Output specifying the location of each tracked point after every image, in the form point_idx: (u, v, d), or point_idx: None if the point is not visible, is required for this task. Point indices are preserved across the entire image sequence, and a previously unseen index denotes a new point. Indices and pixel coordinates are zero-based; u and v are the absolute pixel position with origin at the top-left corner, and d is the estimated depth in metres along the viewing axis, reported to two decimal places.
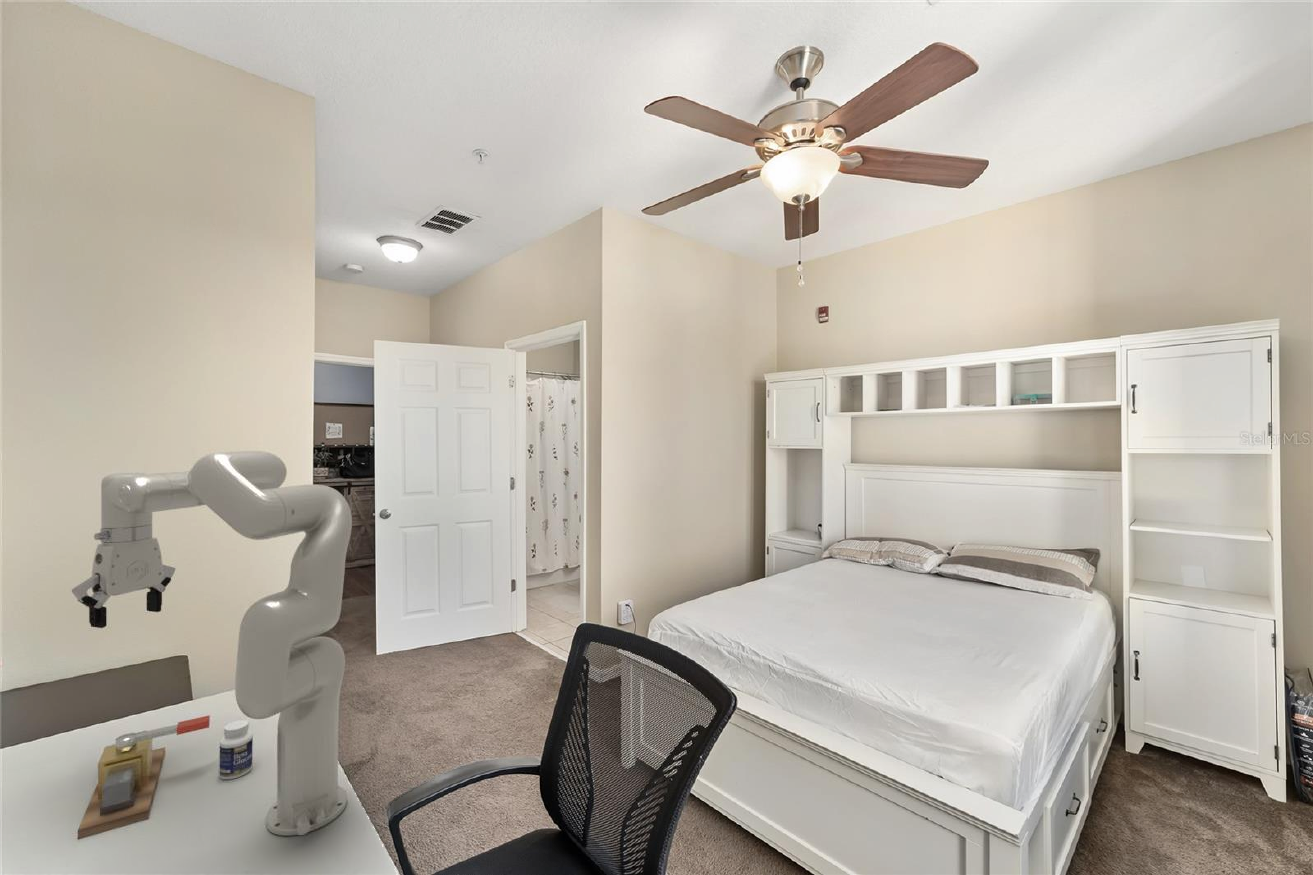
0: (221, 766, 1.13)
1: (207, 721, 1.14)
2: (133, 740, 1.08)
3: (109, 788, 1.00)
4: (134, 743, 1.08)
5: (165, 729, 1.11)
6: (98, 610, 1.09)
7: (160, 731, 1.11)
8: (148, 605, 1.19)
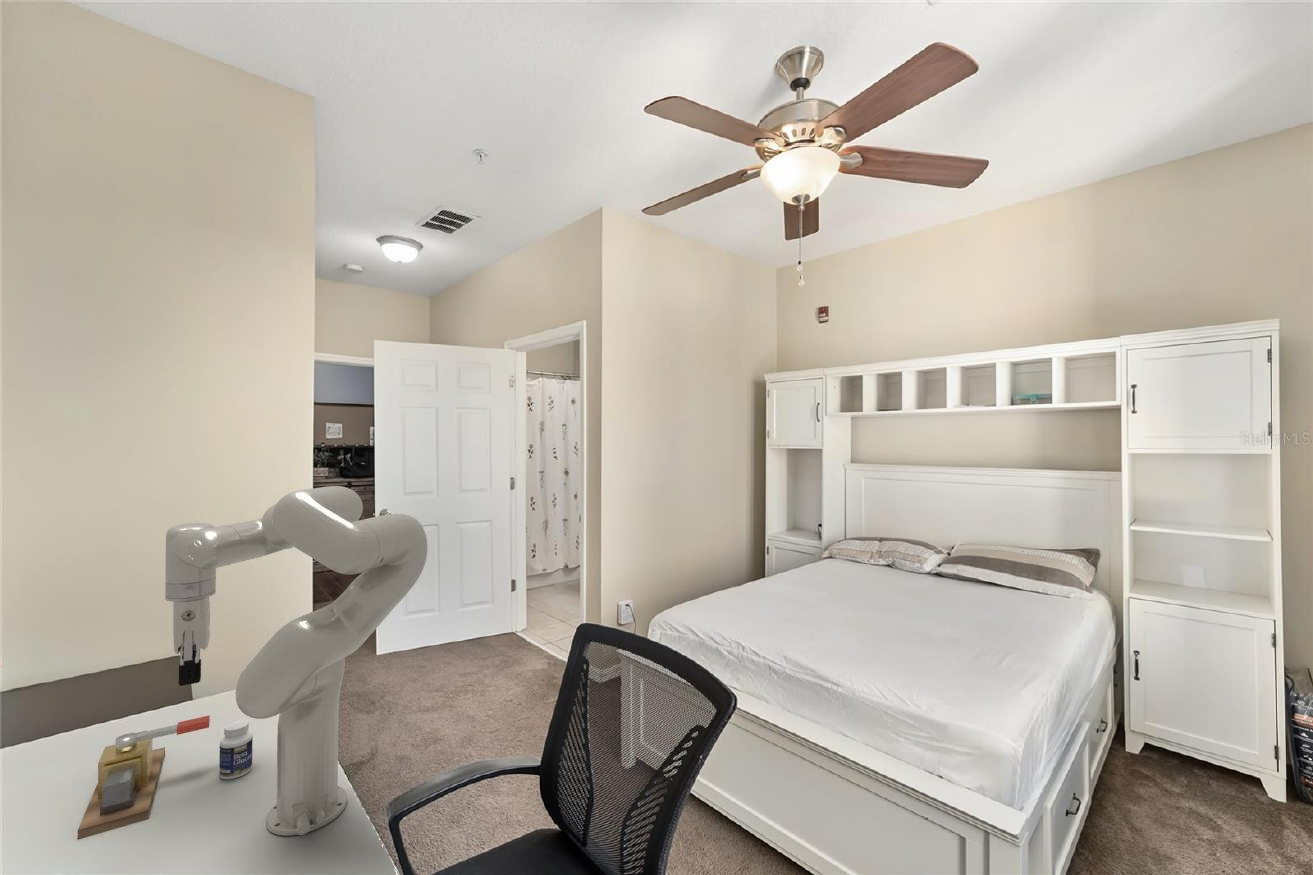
0: (221, 766, 1.13)
1: (207, 721, 1.14)
2: (133, 740, 1.08)
3: (109, 788, 1.00)
4: (134, 743, 1.08)
5: (165, 729, 1.11)
6: (195, 665, 1.09)
7: (160, 731, 1.11)
8: None
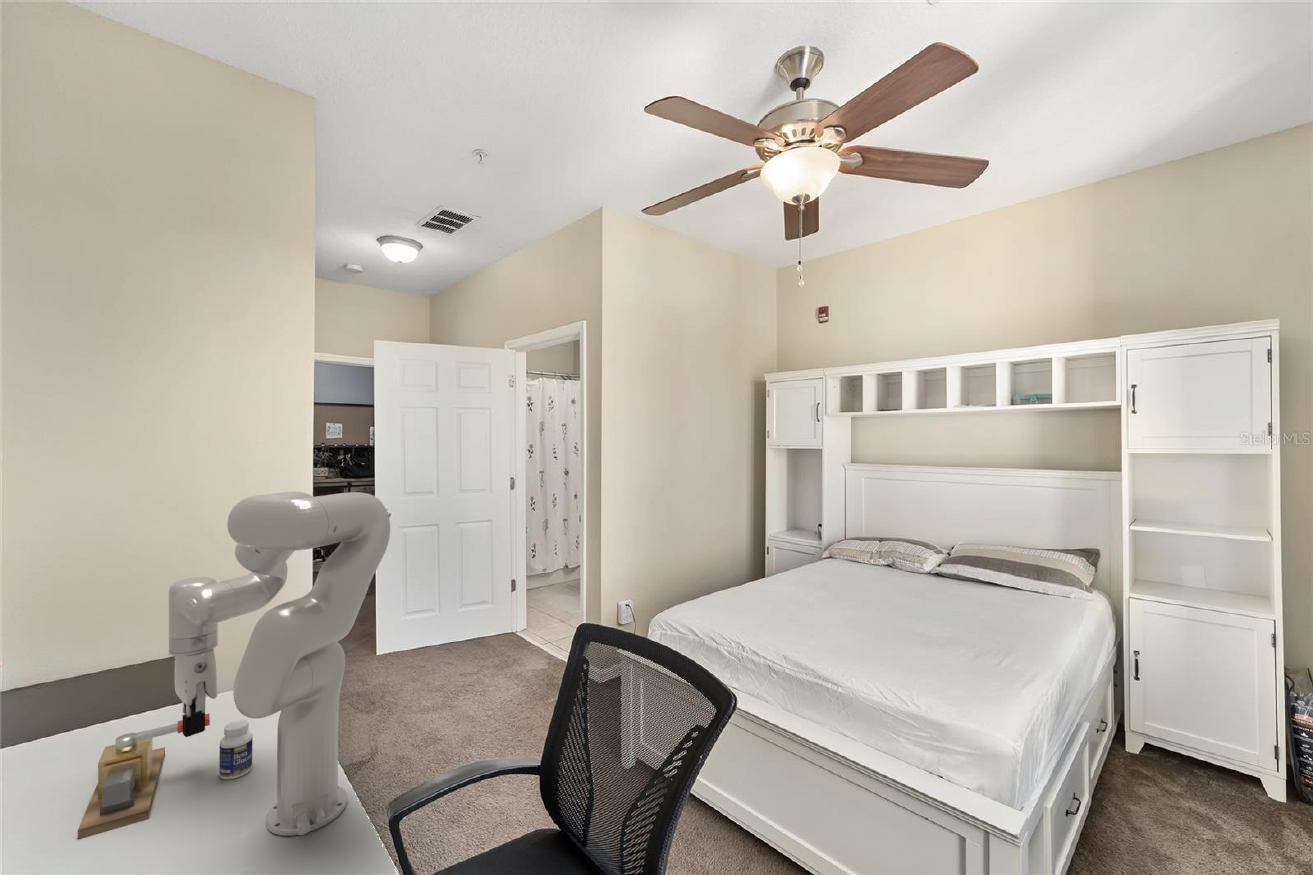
0: (221, 766, 1.13)
1: (208, 719, 1.15)
2: (134, 740, 1.08)
3: (109, 788, 1.00)
4: (135, 743, 1.08)
5: (165, 728, 1.12)
6: (200, 715, 1.12)
7: (160, 730, 1.11)
8: None
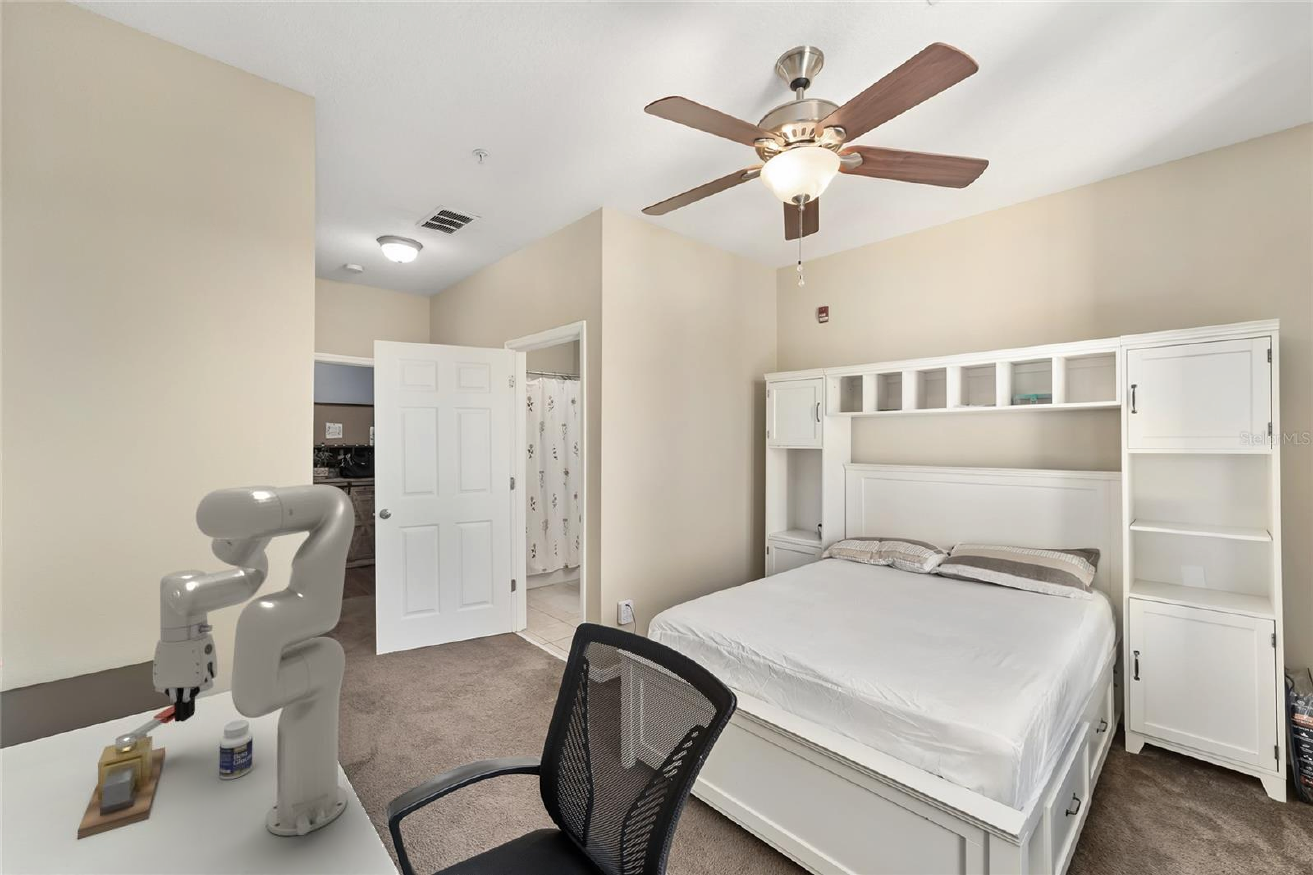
0: (221, 766, 1.13)
1: None
2: (136, 736, 1.09)
3: (109, 788, 1.00)
4: None
5: (154, 722, 1.14)
6: None
7: (152, 724, 1.13)
8: None
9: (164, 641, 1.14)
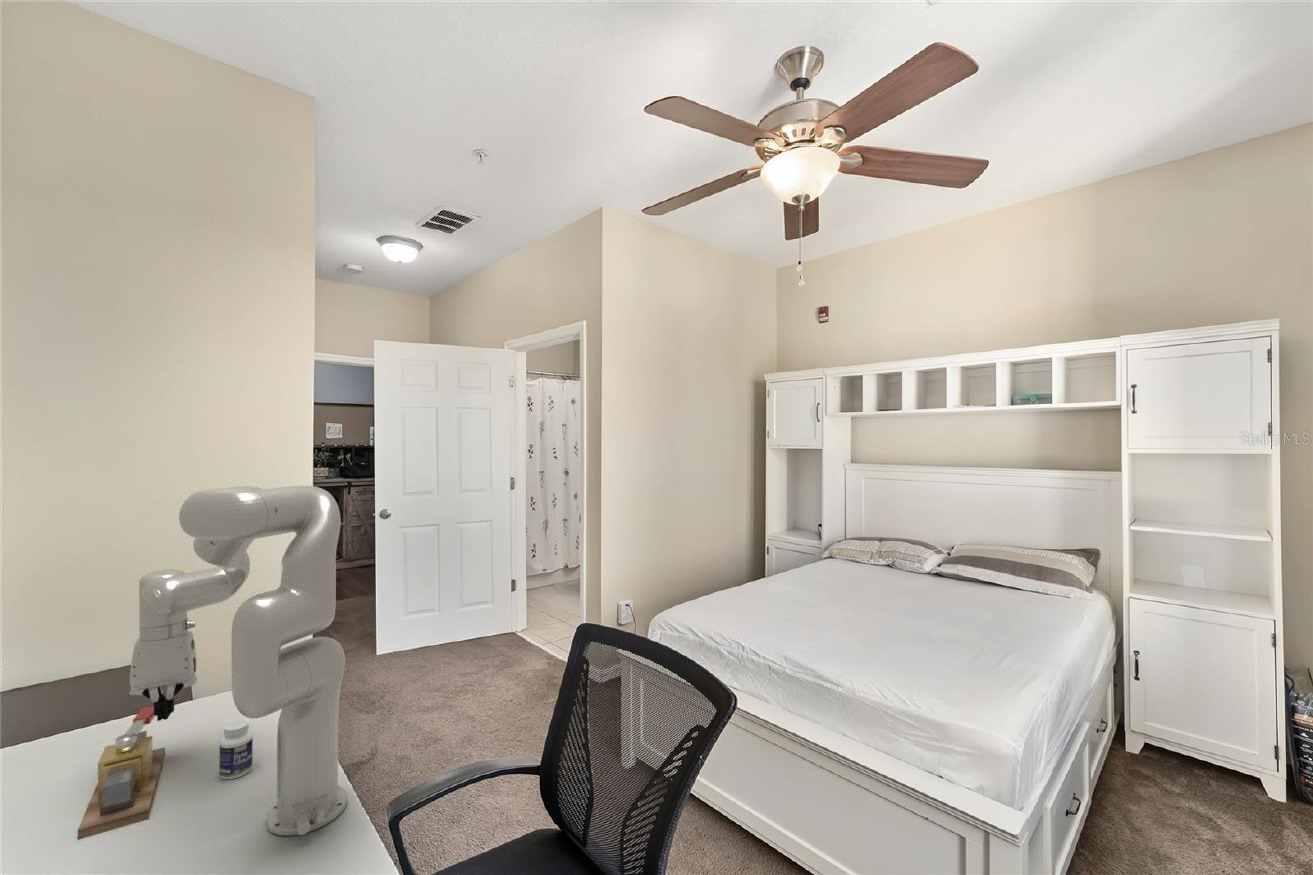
0: (221, 766, 1.13)
1: None
2: None
3: (109, 788, 1.00)
4: None
5: (139, 723, 1.14)
6: None
7: (140, 724, 1.13)
8: (162, 713, 1.18)
9: (150, 640, 1.15)
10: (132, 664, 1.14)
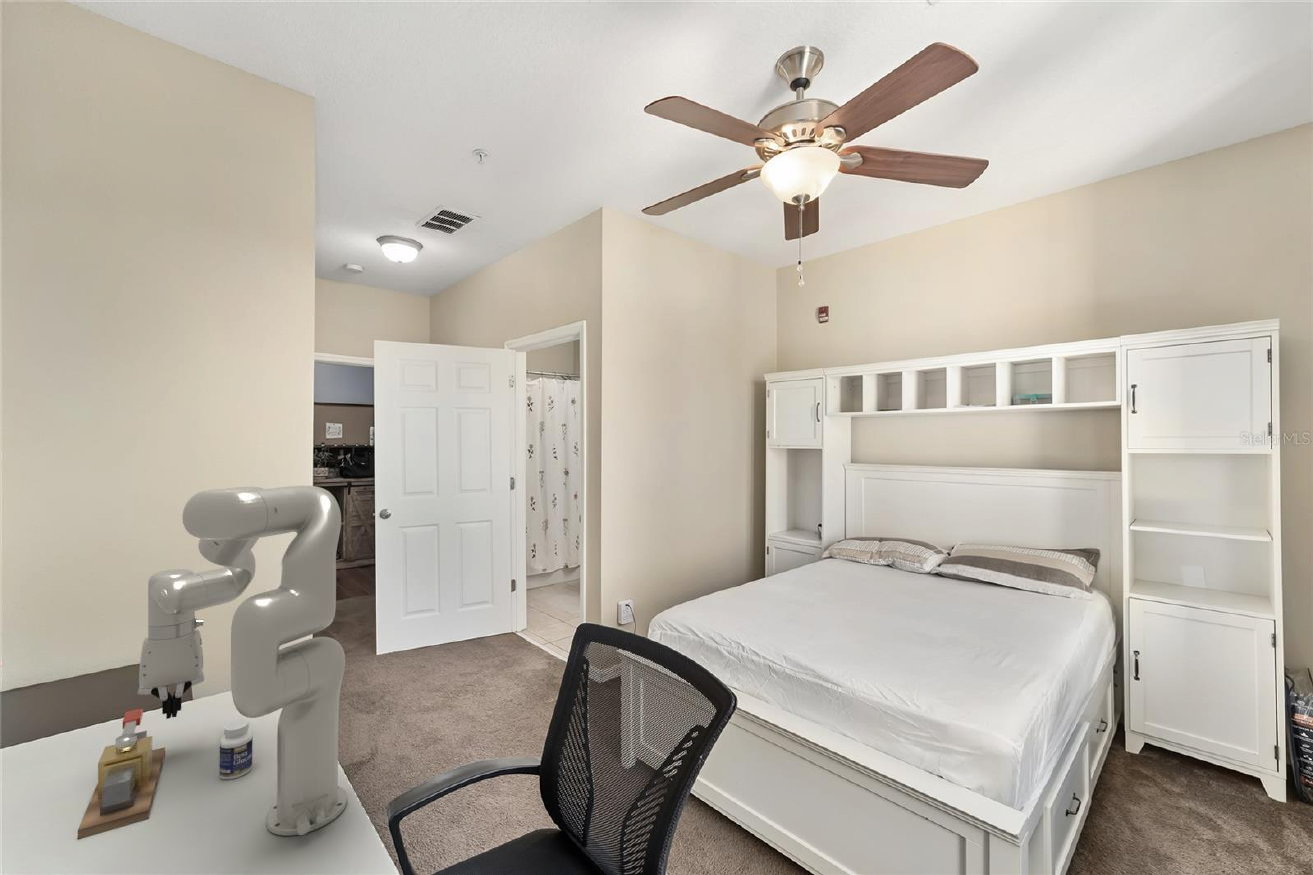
0: (221, 766, 1.13)
1: (142, 709, 1.19)
2: None
3: (109, 788, 1.00)
4: None
5: (132, 724, 1.13)
6: None
7: (133, 725, 1.13)
8: (171, 711, 1.19)
9: (161, 639, 1.16)
10: (142, 663, 1.15)
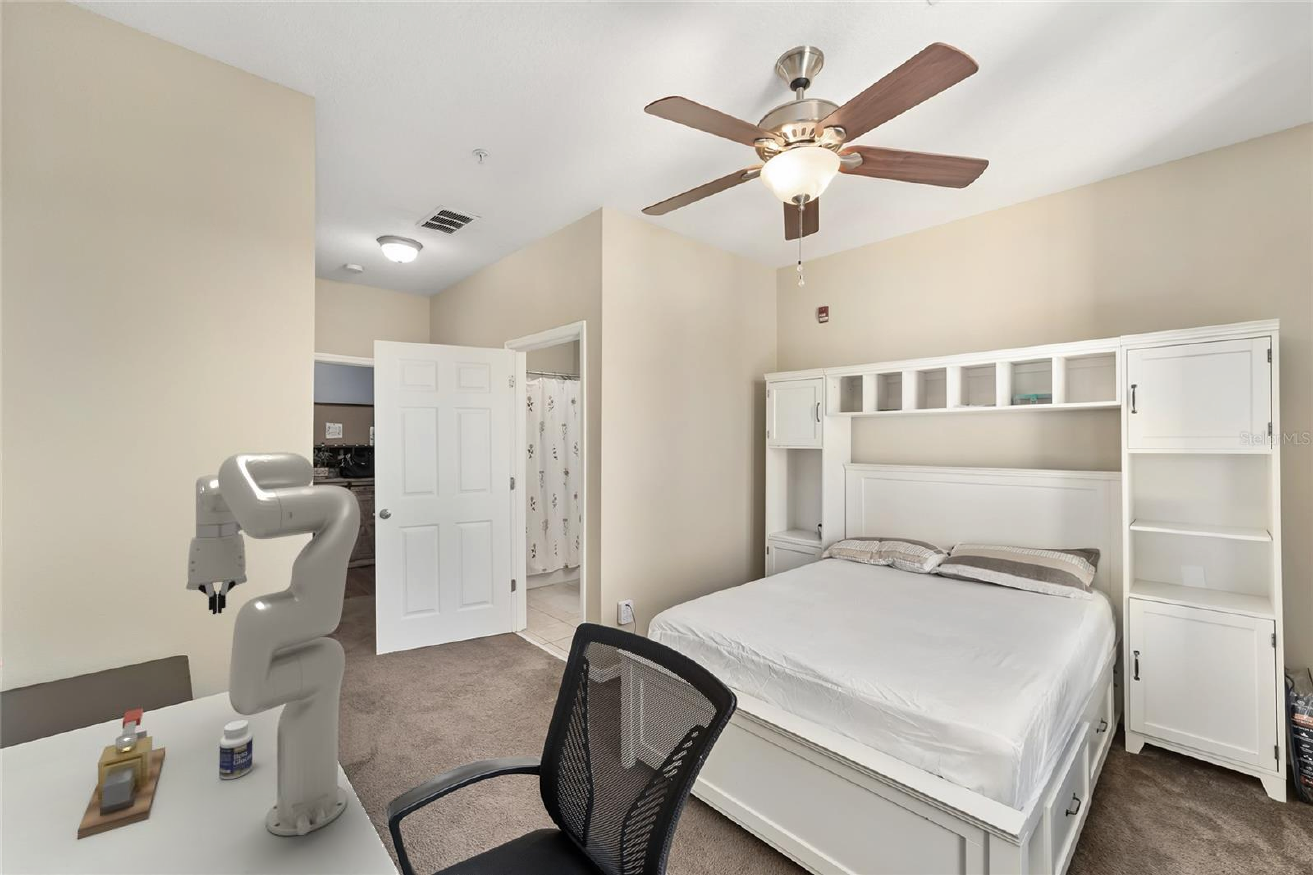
0: (221, 766, 1.13)
1: (142, 709, 1.19)
2: None
3: (109, 788, 1.00)
4: None
5: (132, 724, 1.13)
6: None
7: (133, 725, 1.13)
8: (216, 607, 1.25)
9: (209, 537, 1.22)
10: (190, 559, 1.22)
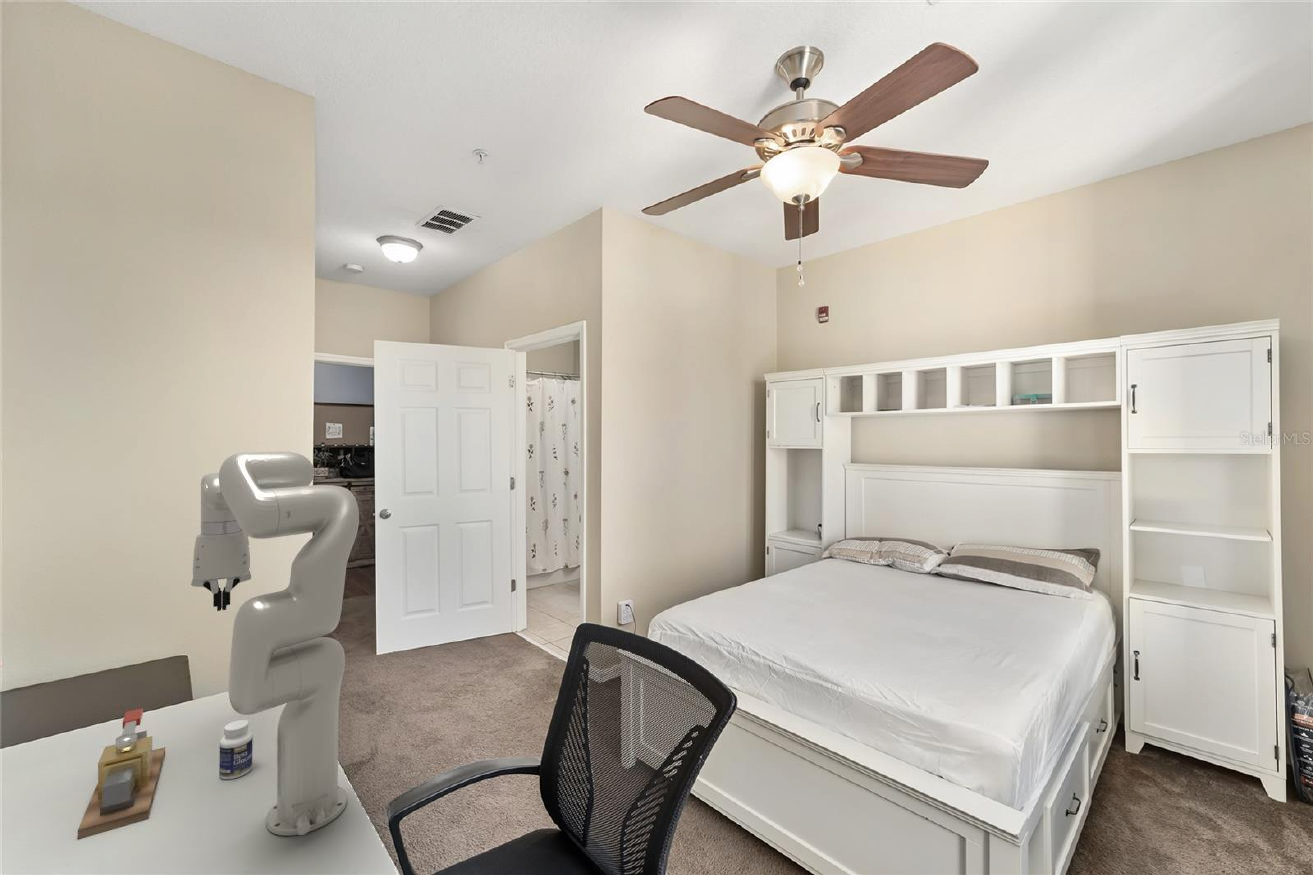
0: (221, 766, 1.13)
1: (142, 709, 1.19)
2: None
3: (109, 788, 1.00)
4: None
5: (132, 724, 1.13)
6: None
7: (133, 725, 1.13)
8: (221, 604, 1.27)
9: (213, 534, 1.24)
10: (195, 556, 1.23)
